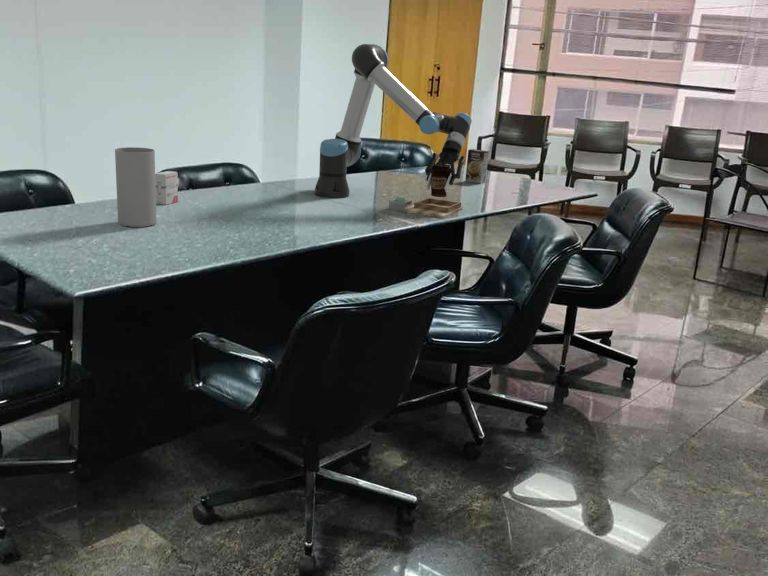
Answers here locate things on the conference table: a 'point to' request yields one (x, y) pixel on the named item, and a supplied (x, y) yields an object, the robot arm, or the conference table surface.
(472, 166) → the coffee box
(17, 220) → the conference table surface
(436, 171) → the coffee cup
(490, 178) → the conference table surface
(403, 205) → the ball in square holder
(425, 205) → the tray
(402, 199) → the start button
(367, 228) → the conference table surface
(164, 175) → the ink box
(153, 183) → the cylinder vase
